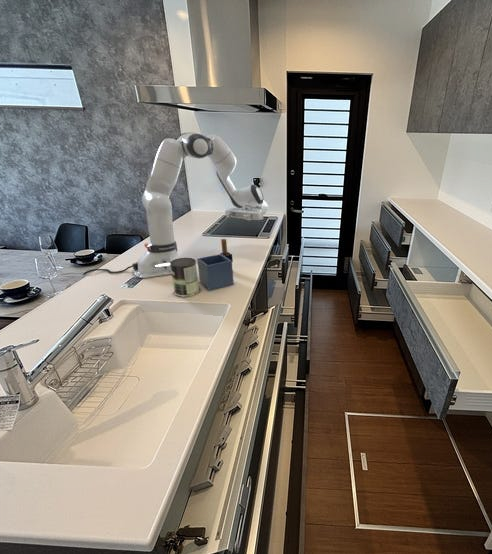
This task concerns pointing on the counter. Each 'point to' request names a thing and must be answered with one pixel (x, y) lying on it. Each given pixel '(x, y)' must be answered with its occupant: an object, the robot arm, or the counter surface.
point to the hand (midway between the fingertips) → (235, 216)
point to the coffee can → (184, 276)
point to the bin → (215, 271)
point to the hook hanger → (225, 250)
